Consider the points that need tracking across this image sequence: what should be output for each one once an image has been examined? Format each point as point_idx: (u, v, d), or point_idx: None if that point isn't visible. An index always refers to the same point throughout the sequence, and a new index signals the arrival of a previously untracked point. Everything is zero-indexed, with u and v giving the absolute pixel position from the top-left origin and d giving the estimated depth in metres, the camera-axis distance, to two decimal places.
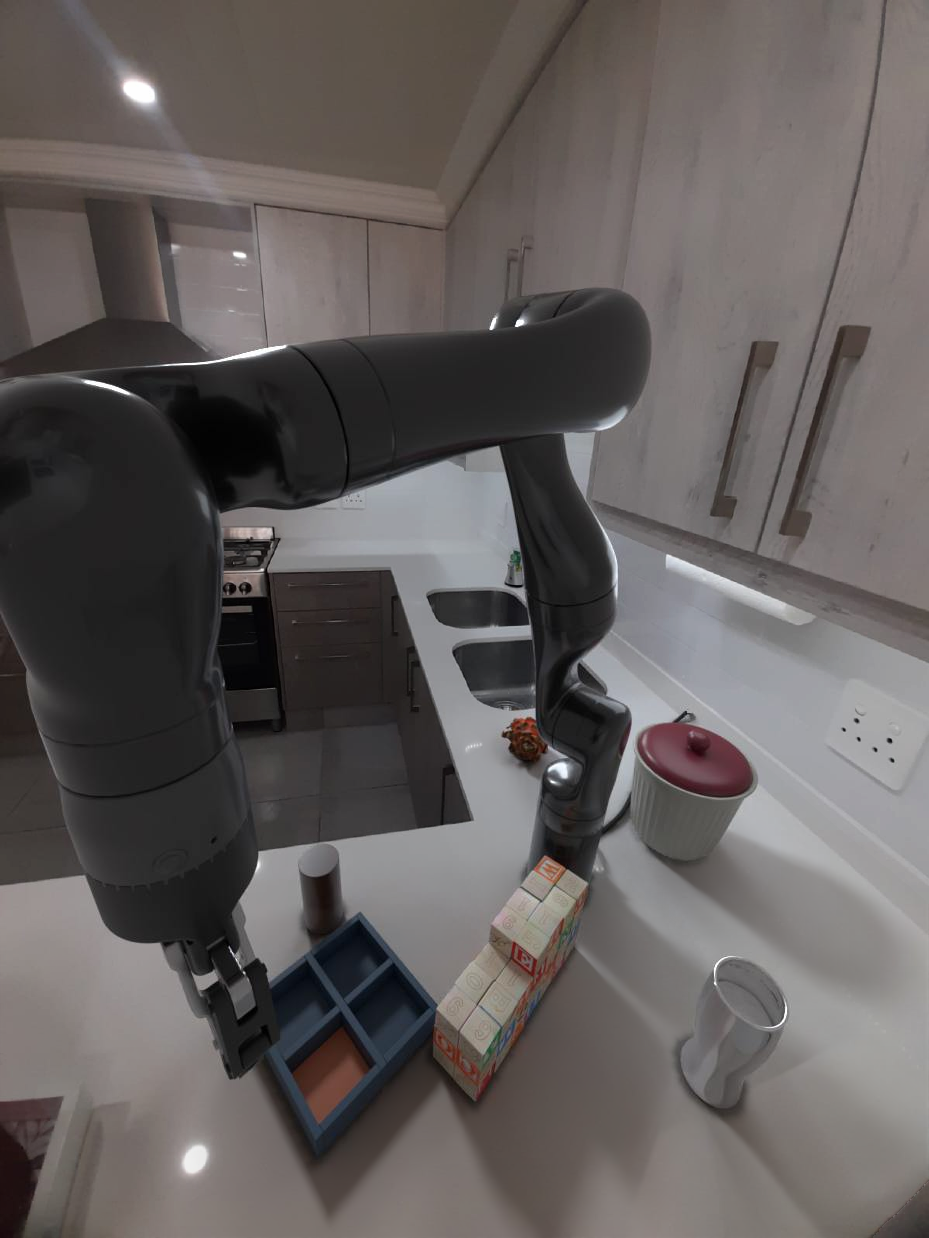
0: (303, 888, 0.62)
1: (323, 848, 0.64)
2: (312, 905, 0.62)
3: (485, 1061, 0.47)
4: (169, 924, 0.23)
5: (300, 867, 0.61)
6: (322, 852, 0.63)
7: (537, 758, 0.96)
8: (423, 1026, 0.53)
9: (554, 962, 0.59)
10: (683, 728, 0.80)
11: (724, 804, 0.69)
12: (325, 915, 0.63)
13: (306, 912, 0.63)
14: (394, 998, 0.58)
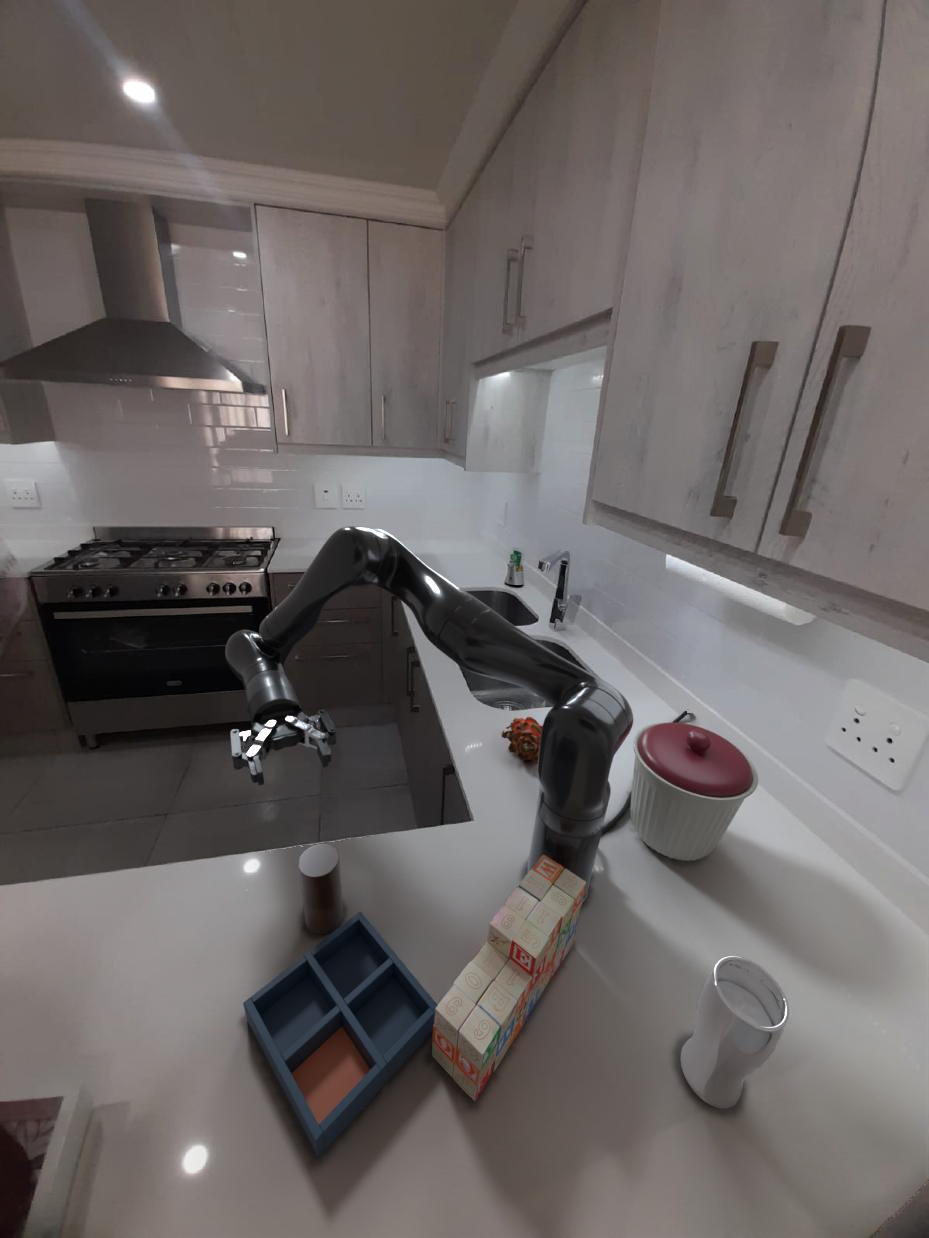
0: (303, 888, 0.62)
1: (323, 848, 0.64)
2: (312, 905, 0.62)
3: (484, 1060, 0.47)
4: None
5: (300, 867, 0.61)
6: (322, 852, 0.63)
7: (537, 758, 0.96)
8: (423, 1026, 0.53)
9: (553, 961, 0.59)
10: (683, 728, 0.80)
11: (725, 804, 0.69)
12: (325, 915, 0.63)
13: (306, 912, 0.63)
14: (394, 998, 0.58)
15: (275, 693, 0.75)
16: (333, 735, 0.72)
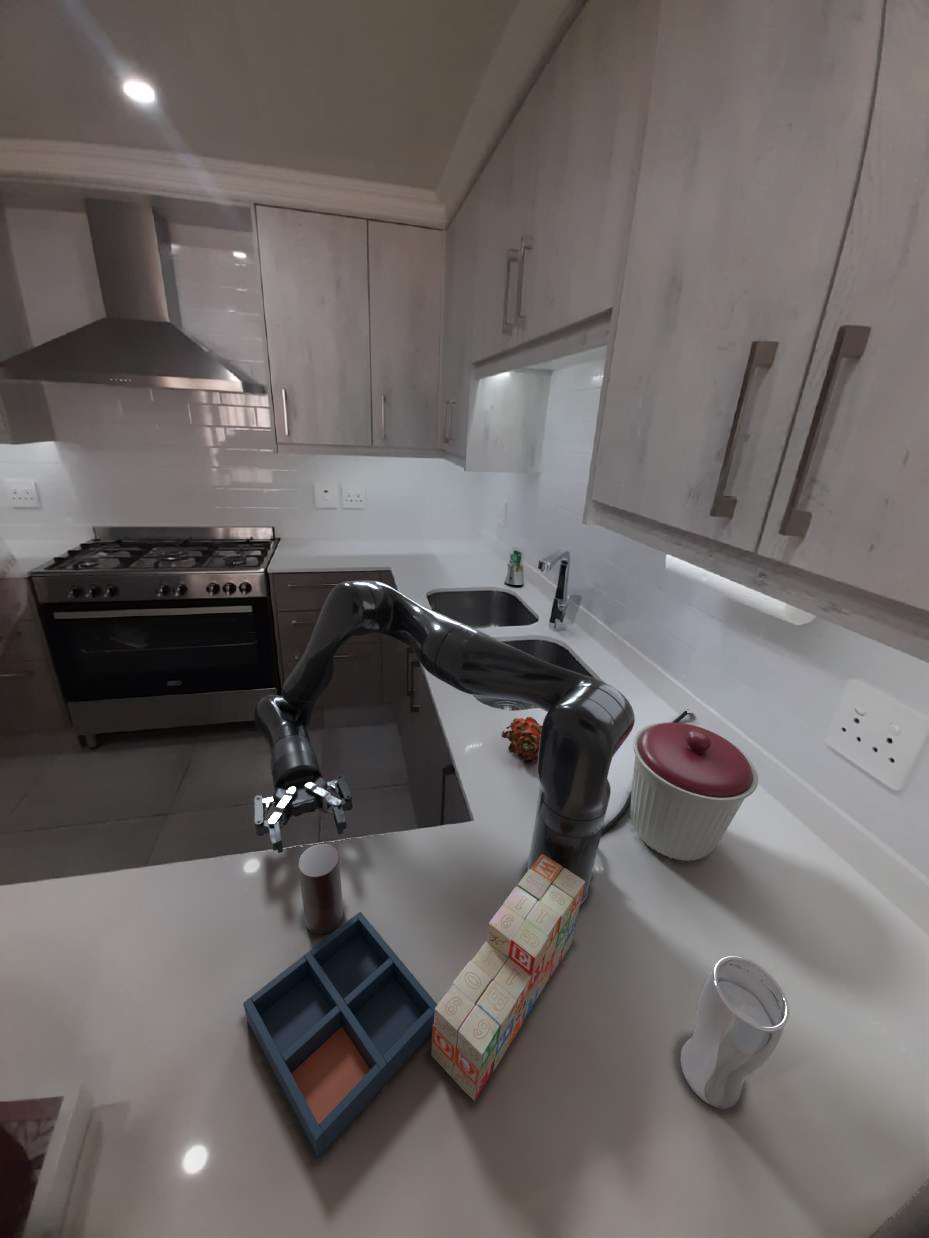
0: (303, 888, 0.62)
1: (323, 848, 0.64)
2: (312, 905, 0.62)
3: (484, 1060, 0.48)
4: None
5: (300, 867, 0.61)
6: (322, 852, 0.63)
7: (537, 758, 0.96)
8: (423, 1026, 0.53)
9: (552, 960, 0.59)
10: (683, 728, 0.80)
11: (725, 804, 0.69)
12: (325, 915, 0.63)
13: (306, 912, 0.63)
14: (394, 998, 0.58)
15: (296, 759, 0.80)
16: (349, 801, 0.76)
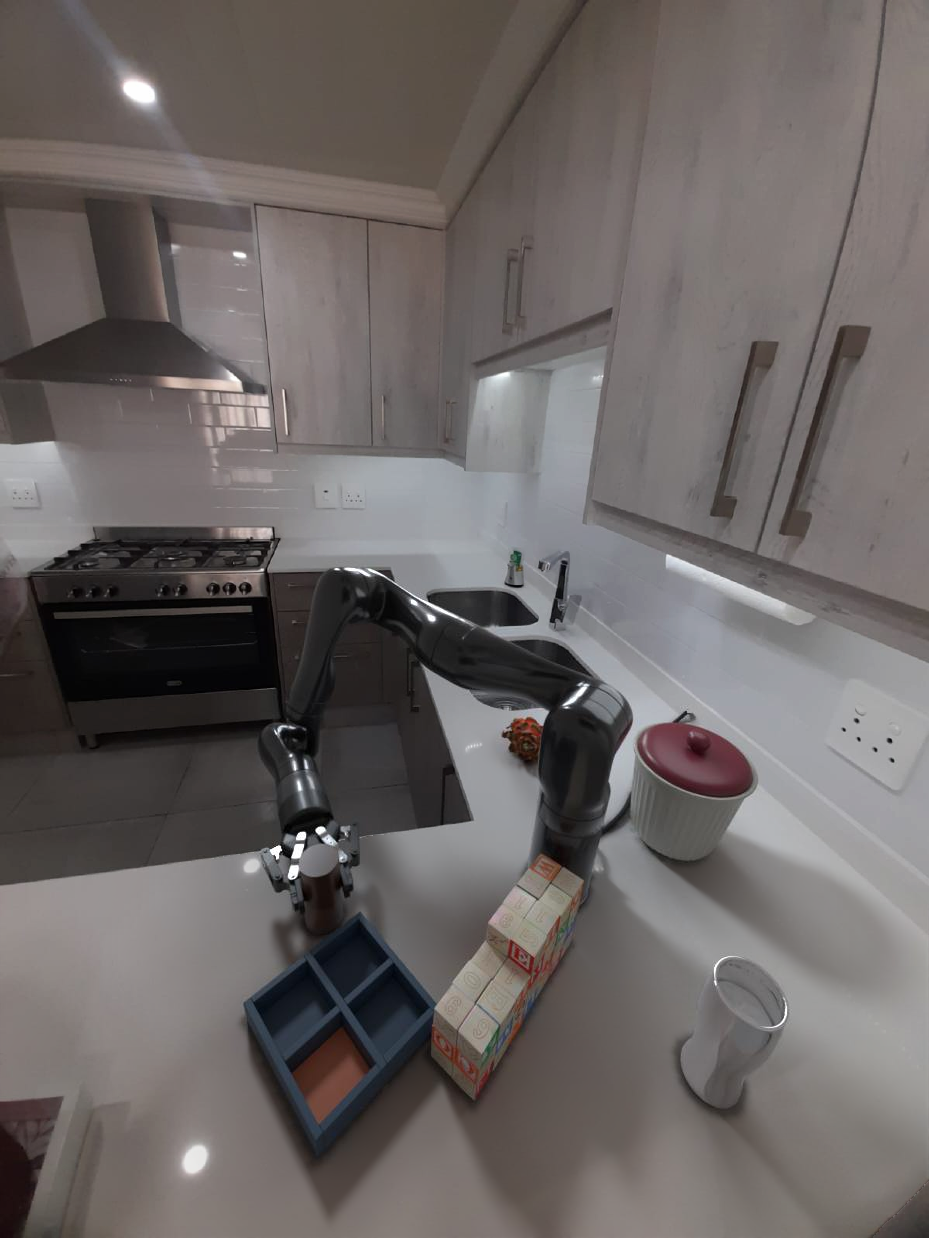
0: (303, 888, 0.62)
1: (323, 848, 0.64)
2: (312, 905, 0.62)
3: (484, 1060, 0.48)
4: None
5: (300, 867, 0.61)
6: (322, 852, 0.63)
7: (537, 758, 0.96)
8: (423, 1026, 0.53)
9: (551, 959, 0.59)
10: (683, 728, 0.80)
11: (725, 804, 0.69)
12: (325, 915, 0.63)
13: (306, 912, 0.63)
14: (394, 998, 0.58)
15: (306, 800, 0.72)
16: (355, 857, 0.67)
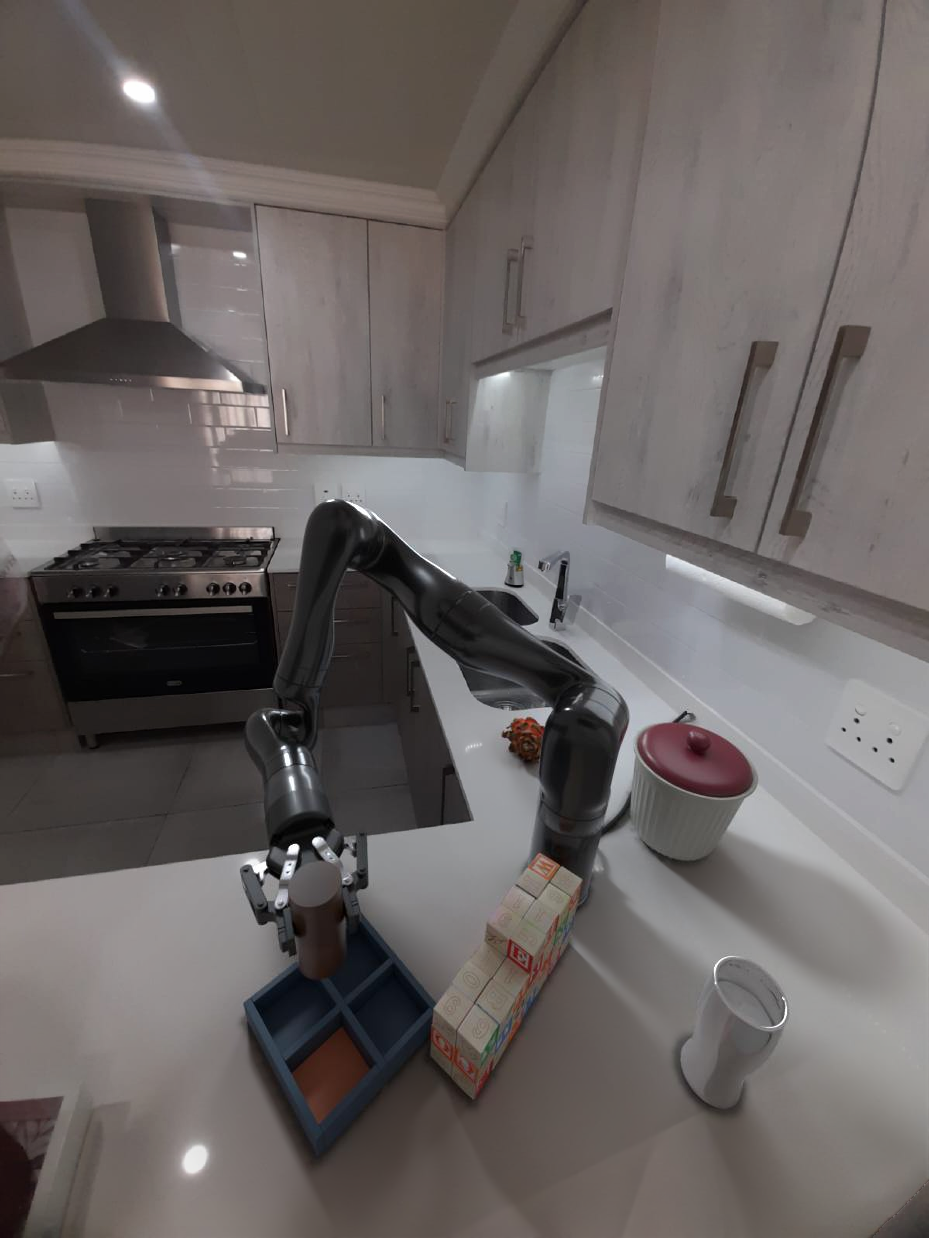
0: (294, 921, 0.46)
1: (320, 867, 0.48)
2: (306, 943, 0.47)
3: (483, 1059, 0.48)
4: None
5: (290, 893, 0.46)
6: (319, 872, 0.48)
7: (537, 758, 0.96)
8: (423, 1026, 0.53)
9: (550, 958, 0.59)
10: (683, 728, 0.80)
11: (725, 804, 0.69)
12: (323, 956, 0.48)
13: (298, 951, 0.48)
14: (394, 998, 0.58)
15: (300, 803, 0.57)
16: (362, 878, 0.52)
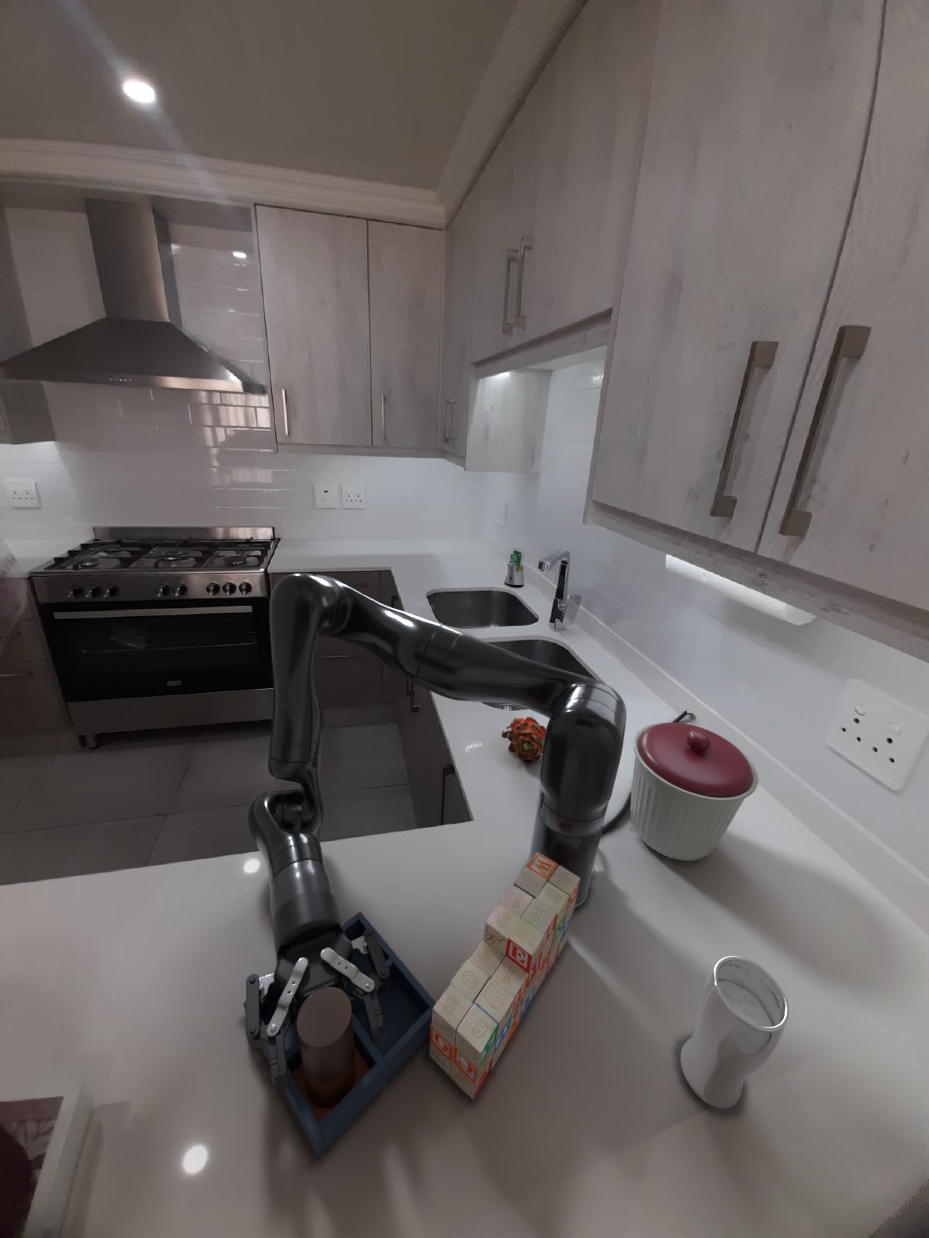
0: (303, 1056, 0.45)
1: (330, 995, 0.48)
2: (315, 1078, 0.46)
3: (482, 1058, 0.48)
4: None
5: (299, 1030, 0.45)
6: (329, 1002, 0.47)
7: (537, 758, 0.96)
8: (423, 1026, 0.53)
9: (548, 957, 0.59)
10: (683, 728, 0.80)
11: (725, 804, 0.69)
12: (333, 1087, 0.47)
13: (307, 1082, 0.47)
14: (394, 998, 0.58)
15: (307, 909, 0.56)
16: (385, 980, 0.52)
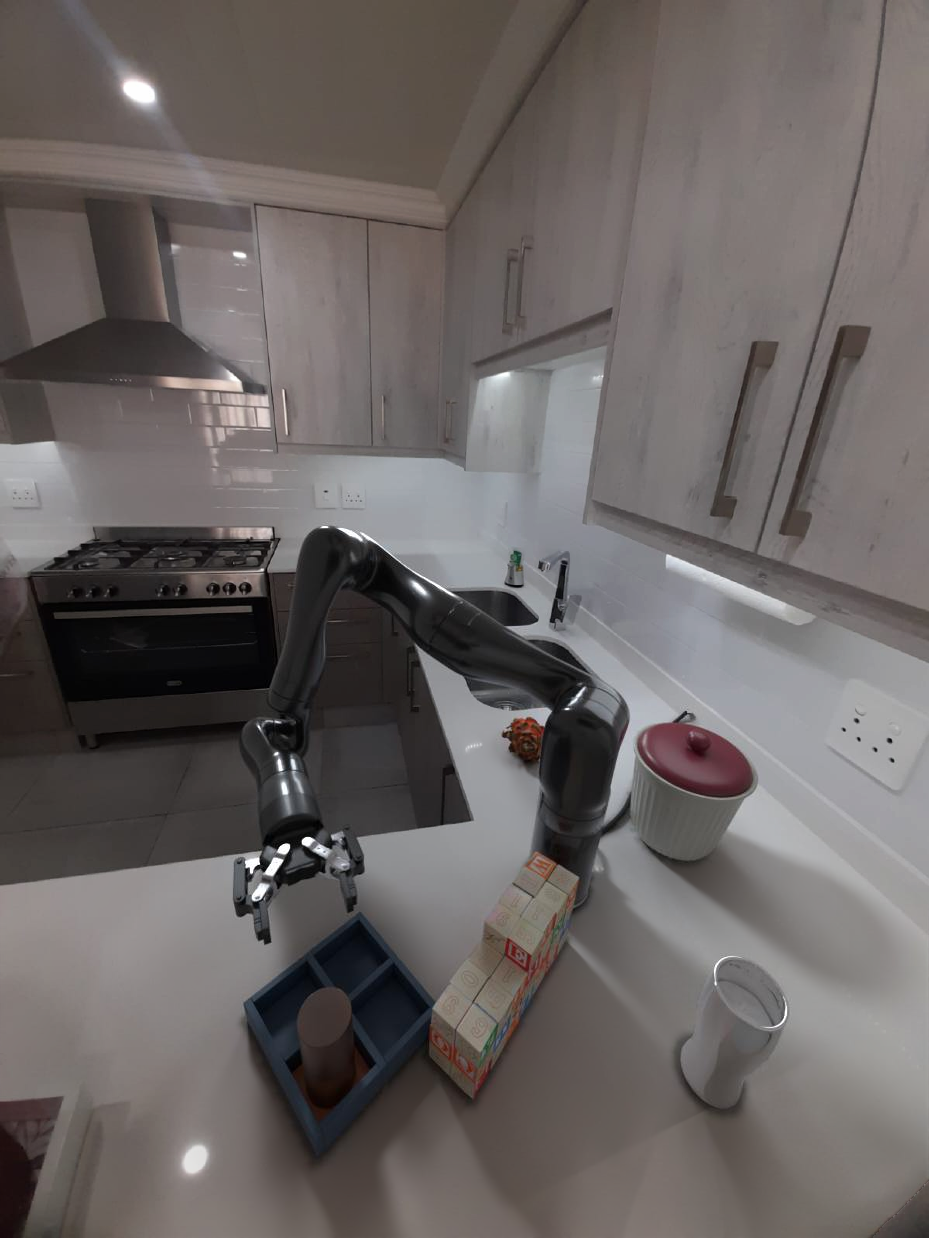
0: (303, 1056, 0.45)
1: (330, 995, 0.48)
2: (315, 1078, 0.46)
3: (482, 1058, 0.48)
4: None
5: (299, 1030, 0.45)
6: (329, 1002, 0.47)
7: (537, 758, 0.96)
8: (423, 1026, 0.53)
9: (547, 957, 0.59)
10: (683, 728, 0.80)
11: (725, 804, 0.69)
12: (333, 1087, 0.47)
13: (307, 1082, 0.47)
14: (394, 998, 0.58)
15: (291, 806, 0.61)
16: (360, 864, 0.58)
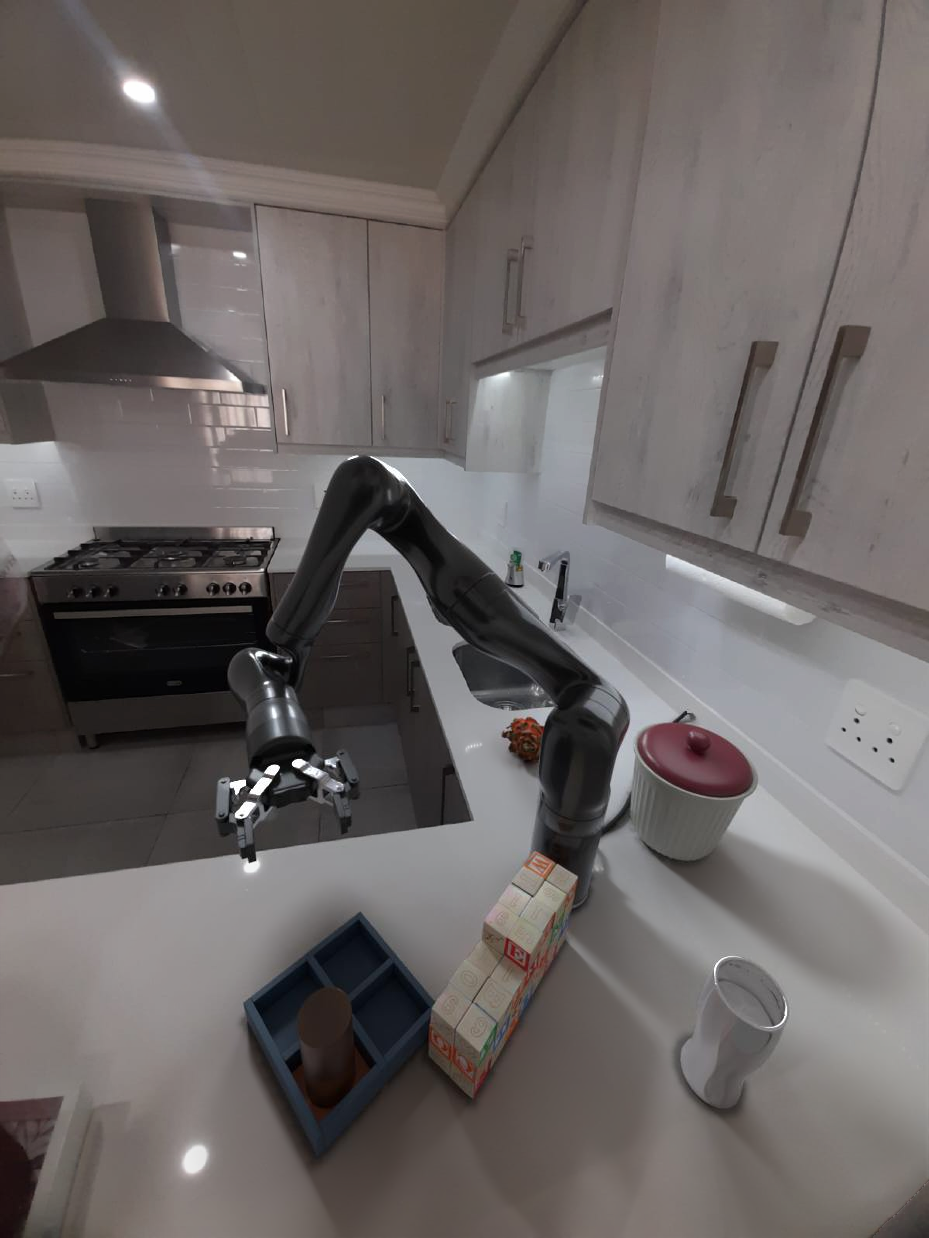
0: (303, 1056, 0.45)
1: (330, 995, 0.48)
2: (315, 1078, 0.46)
3: (482, 1057, 0.48)
4: None
5: (299, 1030, 0.45)
6: (329, 1002, 0.47)
7: (537, 758, 0.96)
8: (423, 1026, 0.53)
9: (546, 956, 0.59)
10: (683, 728, 0.80)
11: (725, 804, 0.69)
12: (333, 1087, 0.47)
13: (307, 1082, 0.47)
14: (394, 998, 0.58)
15: (281, 728, 0.56)
16: (356, 787, 0.53)
